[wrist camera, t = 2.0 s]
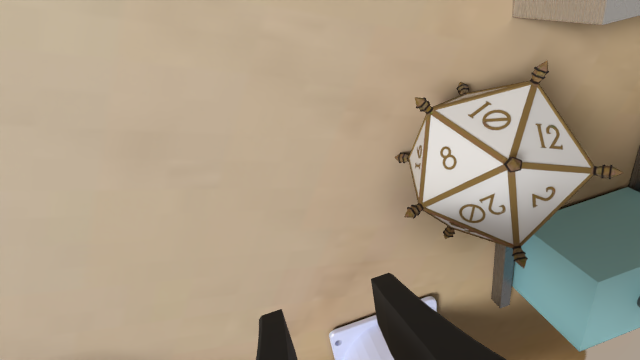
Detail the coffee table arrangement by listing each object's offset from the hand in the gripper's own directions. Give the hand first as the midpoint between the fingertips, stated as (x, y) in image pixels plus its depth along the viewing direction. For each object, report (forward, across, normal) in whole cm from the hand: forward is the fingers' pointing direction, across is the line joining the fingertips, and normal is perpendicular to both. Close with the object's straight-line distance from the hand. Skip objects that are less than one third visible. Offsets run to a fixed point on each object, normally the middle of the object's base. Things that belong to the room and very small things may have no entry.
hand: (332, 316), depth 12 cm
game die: (+10, -10, 0) cm, 14 cm away
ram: (+9, -20, +11) cm, 24 cm away
